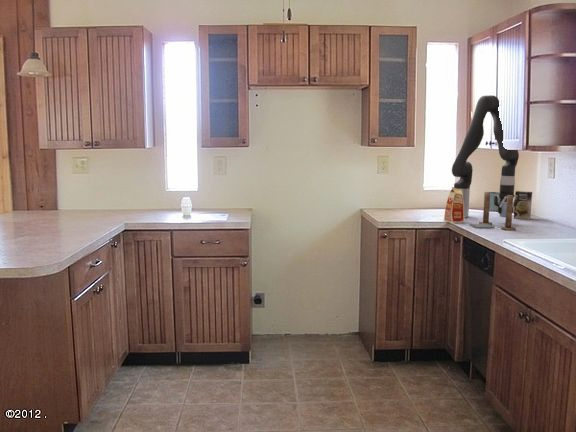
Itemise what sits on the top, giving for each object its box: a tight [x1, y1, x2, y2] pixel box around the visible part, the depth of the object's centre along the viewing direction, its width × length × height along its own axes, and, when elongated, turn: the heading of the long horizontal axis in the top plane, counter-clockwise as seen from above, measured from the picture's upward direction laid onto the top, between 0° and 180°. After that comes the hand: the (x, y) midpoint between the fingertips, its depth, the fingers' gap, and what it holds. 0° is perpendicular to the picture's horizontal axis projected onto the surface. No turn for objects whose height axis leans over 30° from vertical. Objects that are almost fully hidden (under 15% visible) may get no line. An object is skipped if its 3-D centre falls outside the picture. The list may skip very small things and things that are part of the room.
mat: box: [469, 223, 495, 229], centre depth 305 cm, size 10×10×1 cm
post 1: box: [478, 191, 493, 226], centre depth 311 cm, size 7×7×18 cm
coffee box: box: [513, 190, 533, 221], centre depth 334 cm, size 9×6×16 cm
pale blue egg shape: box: [499, 202, 507, 218], centre depth 315 cm, size 6×6×8 cm
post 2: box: [500, 195, 516, 231], centre depth 296 cm, size 7×7×18 cm
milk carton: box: [443, 186, 465, 224], centre depth 322 cm, size 9×9×20 cm
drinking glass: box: [489, 191, 500, 213], centre depth 368 cm, size 10×10×12 cm
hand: (505, 213), depth 315 cm, fingers closed on pale blue egg shape, 5 cm apart
